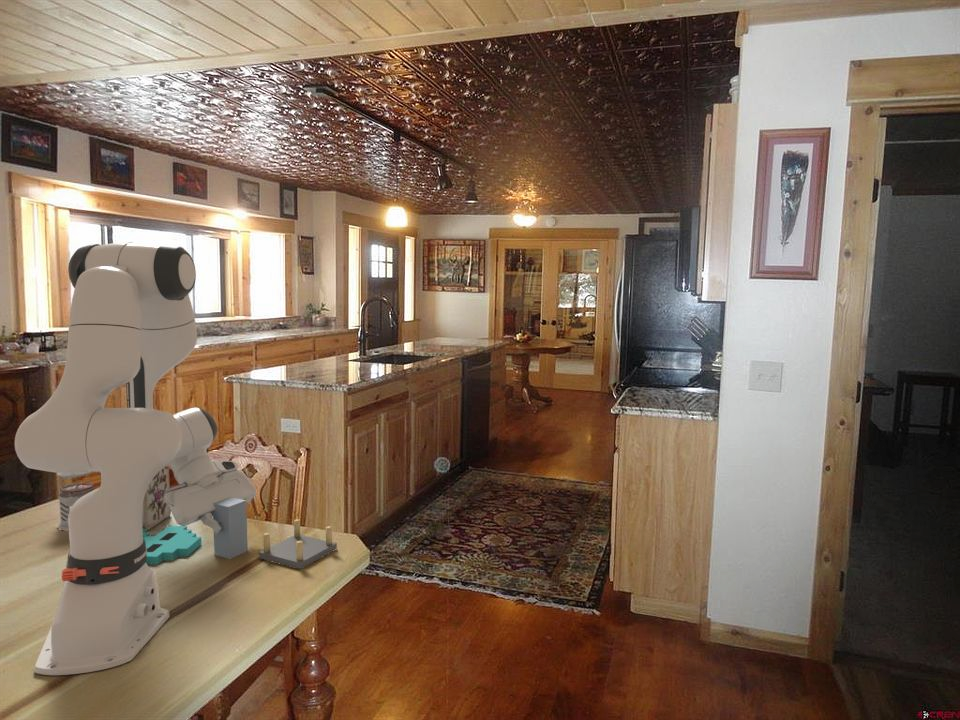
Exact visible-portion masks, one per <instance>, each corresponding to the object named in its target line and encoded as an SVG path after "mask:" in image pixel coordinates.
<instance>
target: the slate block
mask: <svg viewBox="0 0 960 720" xmlns="http://www.w3.org/2000/svg"><path fill="white" fill-rule="evenodd" d="M213 504H214V506H215V510H214V511H213V516H212V518H213V519H214V520H216V521H217V522H220V521H221V522H222V524H223V525H224V527H225V528H224V529H223V531H221V532H219V533H215V532H214V531H213V553H214V556H218V557H220V558H221V557H222V558H224V557H225V559H229V560H232V559H234V558H235V557H238V556H240V555H242V554H244V553H247V552H248V551H249V549H248V547H249V546H248V522H247V521H248V518H247V517H248V516H247V515H248V514H247V503H246V500H242V499H237V498H233V497H229V498H227V499H224V500H221V501H218V502H215V503H213ZM246 551H247V552H246ZM231 558H232V559H231Z"/></svg>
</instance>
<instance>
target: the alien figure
mask: <svg viewBox="0 0 960 720" xmlns="http://www.w3.org/2000/svg"><path fill="white" fill-rule="evenodd" d="M142 531H143V539H144V540H145V542H146V547H147V561H146V564H147V565H159V564H160V563H161V562H162V561H173V560H175V559H176V558H177V557H188V556H190V555H191V554H192V553H194V551H196V550H197V548H199V547H200V546H201V545H202V537H201V536H197V532H196V533H193V532H192V529H188V525H186V526H181V525H168V526H166V527H165V528H164V529H163V530H161V531H160V532H158V533H157V534H155V535H151V532H147V531H146V529H142Z"/></svg>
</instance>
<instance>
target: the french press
mask: <svg viewBox="0 0 960 720" xmlns="http://www.w3.org/2000/svg"><path fill="white" fill-rule="evenodd" d="M93 473H94V472H70V473H56V475H57V476H58V477H60V478H61V479H60V489H59V491H60V493H59V494H58V500H59V502H58V503H59V511H60V512H59V515H60V519H59V520H60V521H59V523H58V524H57V525H58V526H57V525H56V527H58V528H59V529H61V530H69V525H68V515H69V511H70V509H71V507H72V506H73V504H74V503H75V502H76V501H77V500H78V499H79V498H81V497H82V496H84V495H86V494H88V493H89V492H91V491H93V490H95V488H93V486H94V484H93V483H92V482H78V477H85V476H89V475H90V474H93ZM74 478H75V483H71V484H70V483H69V482H70V480H73V479H74ZM63 479H65V480H66V481H67V484H66V485H64V486H63V484H62V483H63ZM61 530H60V531H61Z"/></svg>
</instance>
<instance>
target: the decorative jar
mask: <svg viewBox="0 0 960 720" xmlns="http://www.w3.org/2000/svg"><path fill="white" fill-rule="evenodd" d="M169 469H170V467H169V466H165V467H164V468H163V469H162V470H160V471H159V472H158V473H157V474H156V476H155V477H154V478H153V479H152V481H151V483H150V484H149V486H148V488H147V491H146V493H145V496H144V501H143V513H142V529H146V532H148V531H149V530H151V529H152V528H154V527H155V526H157V525H159V524H160V523H161V522H163V521H164V520H166V519H167V518H169V517H170V516H171V515H172V512H171V510H170V507H169V504H168V503H167V502H166V500H165V499H164V492H165V491H166V490H167V489H168V488H170V487H171V485H170V484H171V483H170V471H169ZM101 480H102V477H100V481H101Z"/></svg>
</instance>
